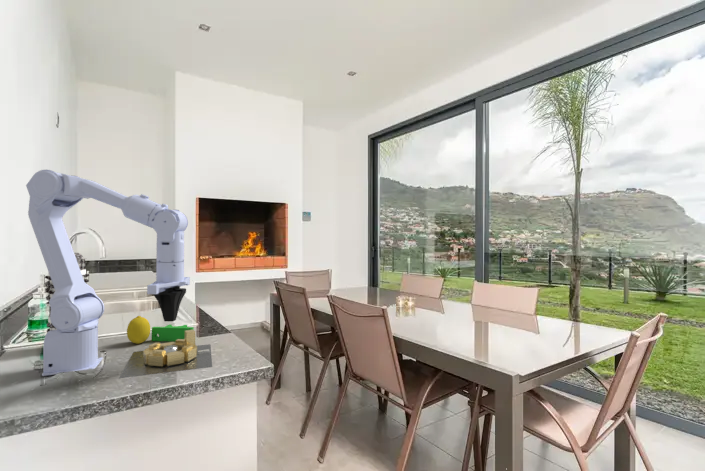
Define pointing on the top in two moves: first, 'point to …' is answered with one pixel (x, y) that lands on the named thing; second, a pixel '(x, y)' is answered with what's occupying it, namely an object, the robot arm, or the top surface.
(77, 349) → the robot arm
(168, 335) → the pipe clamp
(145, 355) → the tan segmented ring
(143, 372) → the dark grey square slab
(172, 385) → the top surface
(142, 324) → the lemon
